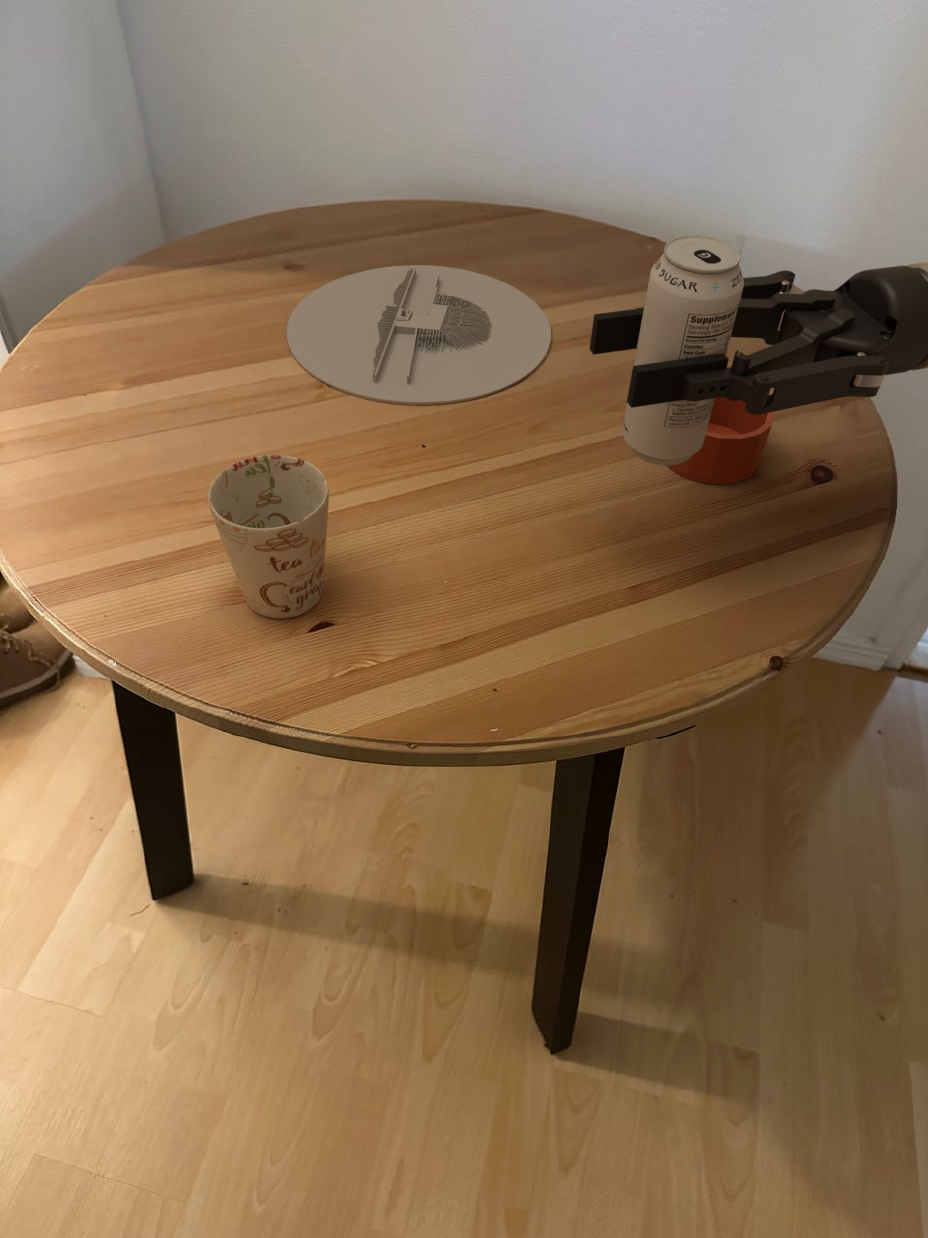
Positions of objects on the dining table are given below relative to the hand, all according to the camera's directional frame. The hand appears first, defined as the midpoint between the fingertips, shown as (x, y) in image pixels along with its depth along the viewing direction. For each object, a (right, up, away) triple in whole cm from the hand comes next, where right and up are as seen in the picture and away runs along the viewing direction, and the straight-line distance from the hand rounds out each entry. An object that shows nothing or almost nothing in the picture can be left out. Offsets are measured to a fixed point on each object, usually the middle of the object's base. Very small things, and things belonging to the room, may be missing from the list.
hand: (612, 359), depth 64 cm
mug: (-25, -14, +11) cm, 30 cm away
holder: (+12, -2, +23) cm, 27 cm away
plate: (-15, +13, +37) cm, 42 cm away
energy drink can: (+5, -5, +7) cm, 10 cm away
